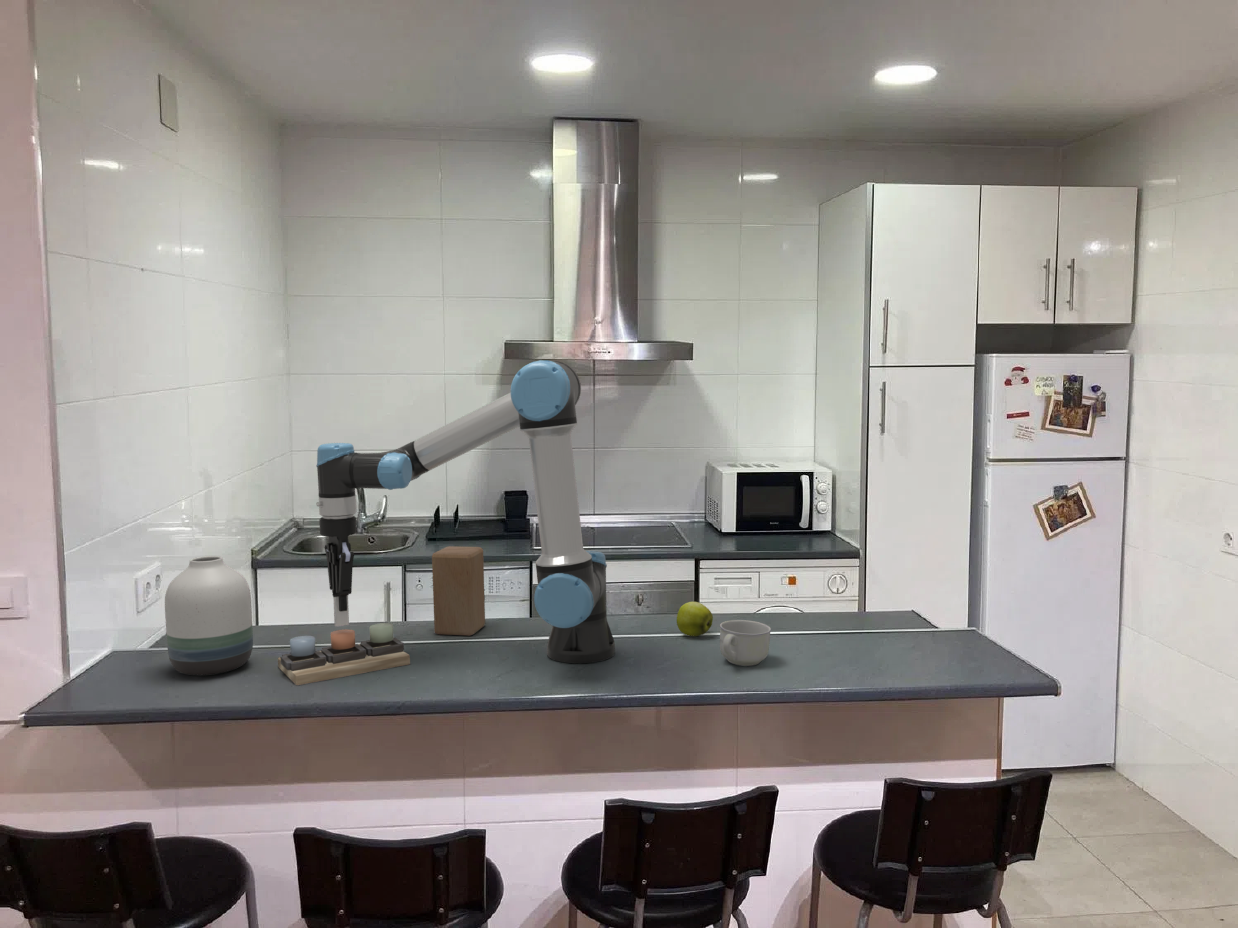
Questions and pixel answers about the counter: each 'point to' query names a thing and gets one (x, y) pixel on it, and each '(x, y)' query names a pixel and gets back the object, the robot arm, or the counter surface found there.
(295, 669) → the button panel
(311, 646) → the slate button
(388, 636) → the sage button
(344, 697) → the counter surface
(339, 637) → the terracotta button
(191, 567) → the vase
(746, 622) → the teacup
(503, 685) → the counter surface
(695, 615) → the apple
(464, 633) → the block
